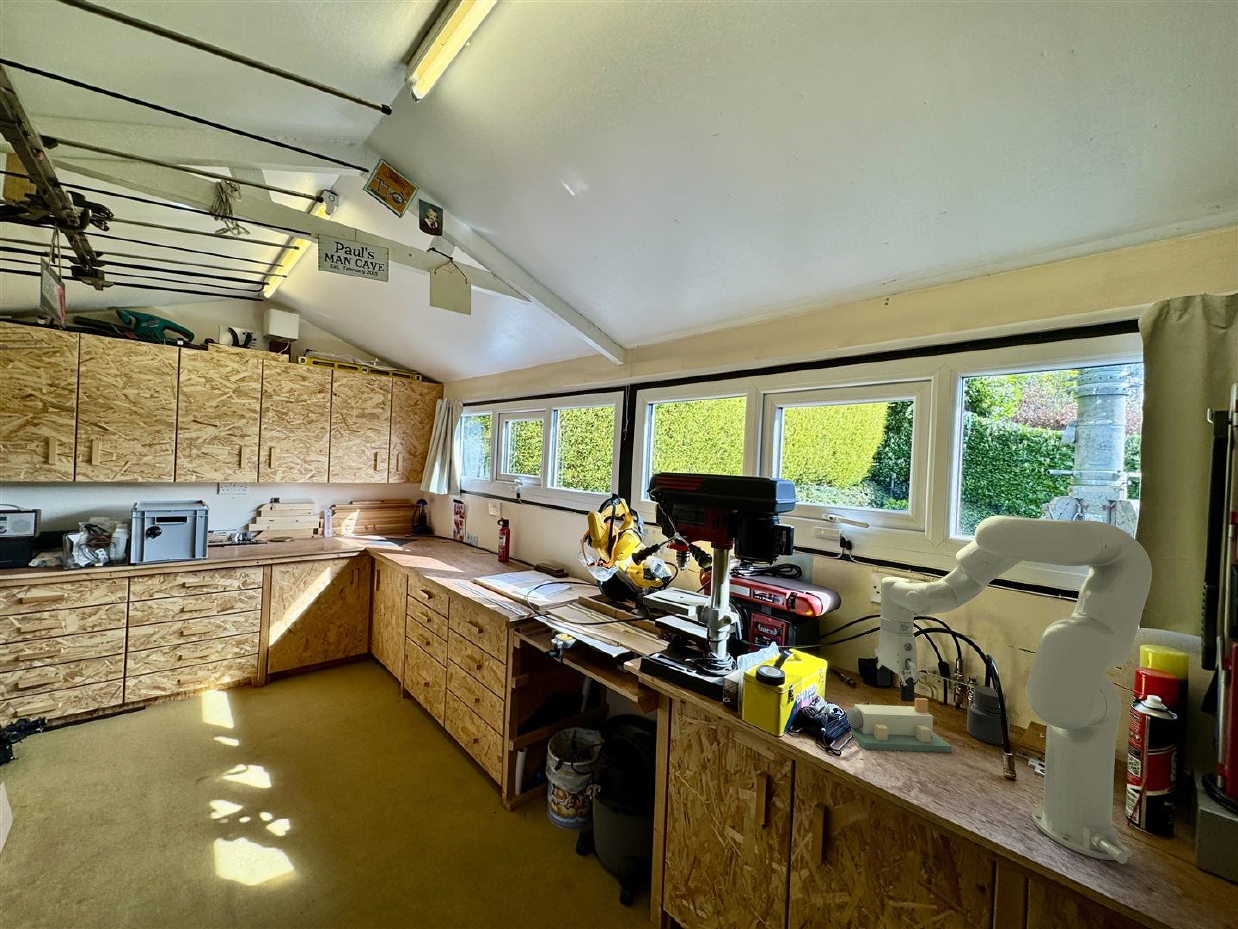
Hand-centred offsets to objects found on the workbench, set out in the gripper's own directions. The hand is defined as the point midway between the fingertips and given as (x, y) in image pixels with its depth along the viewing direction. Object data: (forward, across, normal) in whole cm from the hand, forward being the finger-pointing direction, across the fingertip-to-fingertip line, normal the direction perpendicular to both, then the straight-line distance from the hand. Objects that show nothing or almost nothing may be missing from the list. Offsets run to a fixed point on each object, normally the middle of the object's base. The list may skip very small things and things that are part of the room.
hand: (895, 692), depth 125 cm
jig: (+11, +1, 0) cm, 11 cm away
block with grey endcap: (+10, +1, 0) cm, 10 cm away
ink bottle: (+12, +2, -27) cm, 29 cm away
